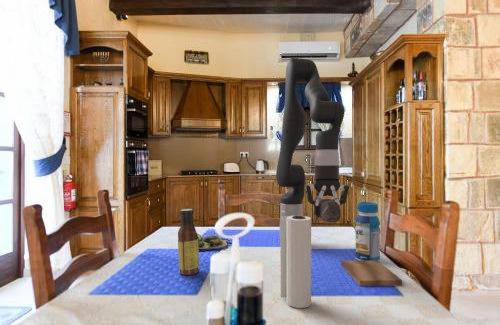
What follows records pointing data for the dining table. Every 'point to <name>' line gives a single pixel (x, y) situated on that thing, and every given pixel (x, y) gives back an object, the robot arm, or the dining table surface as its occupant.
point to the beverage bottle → (367, 232)
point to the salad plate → (211, 242)
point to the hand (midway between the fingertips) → (326, 216)
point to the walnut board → (371, 273)
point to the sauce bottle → (188, 244)
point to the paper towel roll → (296, 260)
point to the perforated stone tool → (329, 210)
